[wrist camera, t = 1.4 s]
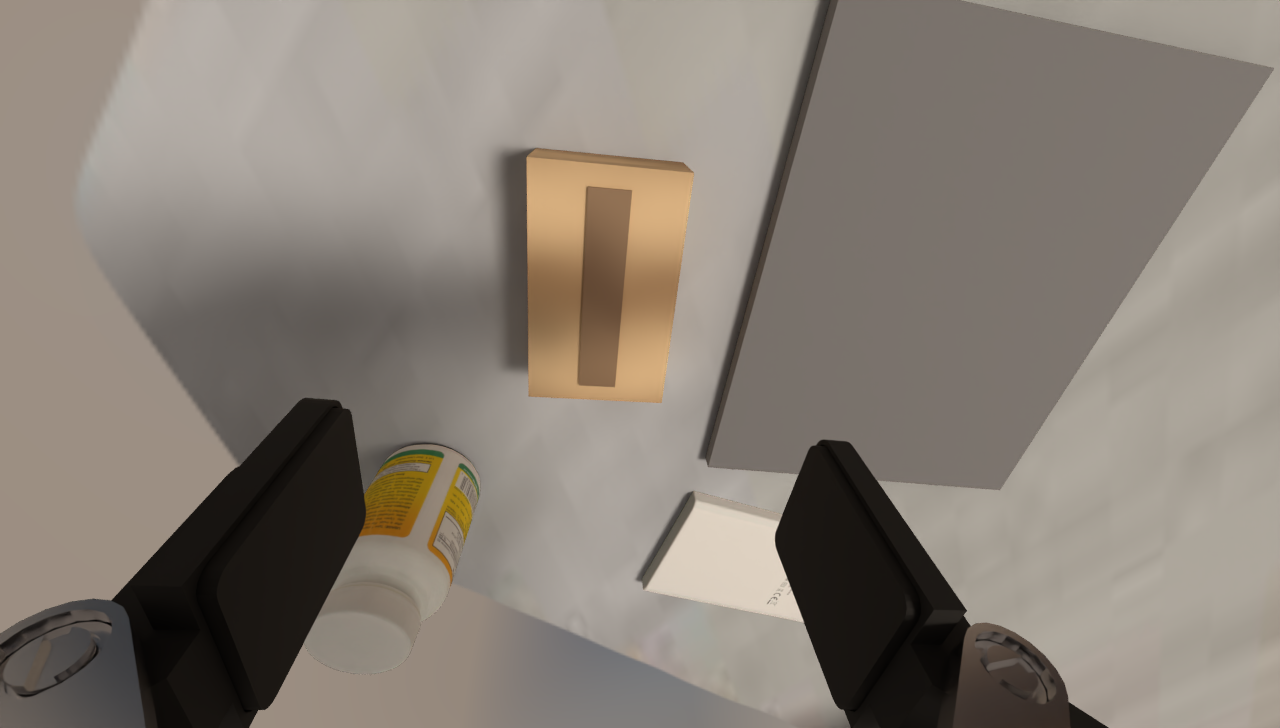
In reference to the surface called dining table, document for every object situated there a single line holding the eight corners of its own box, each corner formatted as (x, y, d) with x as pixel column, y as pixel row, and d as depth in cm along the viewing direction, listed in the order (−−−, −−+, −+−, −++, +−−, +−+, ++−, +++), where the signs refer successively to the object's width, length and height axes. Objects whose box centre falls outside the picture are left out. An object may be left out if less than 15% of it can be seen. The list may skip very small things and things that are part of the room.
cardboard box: (655, 368, 26) (661, 404, 23) (537, 362, 25) (528, 398, 22) (682, 161, 21) (694, 173, 18) (537, 147, 20) (526, 157, 18)
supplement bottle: (500, 470, 28) (456, 635, 20) (451, 526, 30) (391, 699, 21) (410, 422, 26) (319, 582, 18) (364, 485, 28) (261, 657, 20)
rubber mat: (990, 480, 31) (1000, 490, 30) (705, 457, 28) (708, 467, 28) (1251, 68, 20) (1274, 68, 20) (835, -21, 18) (845, -25, 17)
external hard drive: (692, 483, 30) (862, 529, 33) (641, 571, 34) (799, 606, 37) (696, 502, 29) (874, 549, 32) (642, 593, 32) (806, 627, 35)
